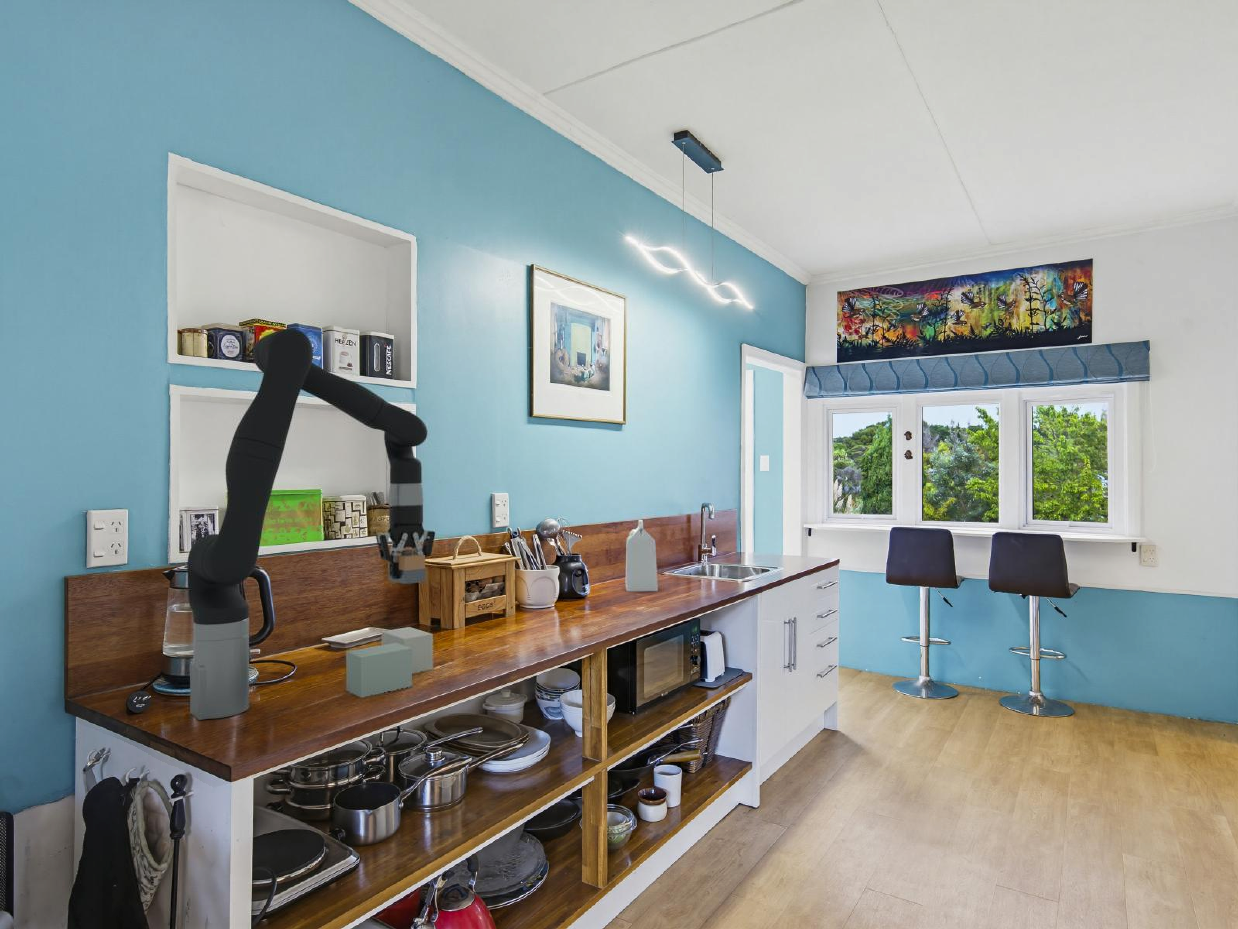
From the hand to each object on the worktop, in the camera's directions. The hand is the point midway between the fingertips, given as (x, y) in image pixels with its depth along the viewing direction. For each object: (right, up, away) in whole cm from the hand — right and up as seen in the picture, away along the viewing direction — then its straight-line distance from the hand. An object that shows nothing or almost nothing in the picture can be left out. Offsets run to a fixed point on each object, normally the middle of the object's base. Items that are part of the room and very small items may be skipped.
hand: (406, 577), depth 170 cm
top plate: (0, +2, 0) cm, 2 cm away
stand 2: (0, -21, 0) cm, 21 cm away
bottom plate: (0, -1, 0) cm, 1 cm away
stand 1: (-1, -21, -16) cm, 26 cm away
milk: (+57, -22, +112) cm, 128 cm away
